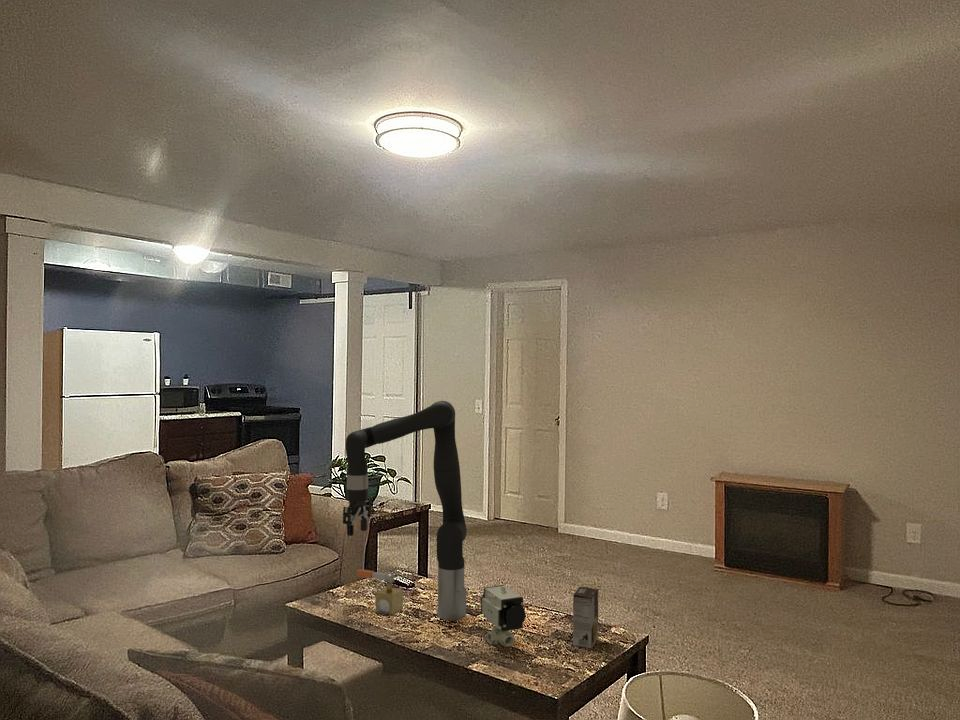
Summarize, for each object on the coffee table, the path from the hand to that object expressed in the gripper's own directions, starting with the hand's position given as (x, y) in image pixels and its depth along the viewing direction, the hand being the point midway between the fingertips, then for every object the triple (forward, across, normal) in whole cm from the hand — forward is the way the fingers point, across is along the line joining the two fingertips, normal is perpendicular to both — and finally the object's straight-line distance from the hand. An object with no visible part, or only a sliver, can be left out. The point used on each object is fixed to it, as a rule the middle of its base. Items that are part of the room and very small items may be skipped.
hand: (357, 533), depth 252 cm
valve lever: (+17, +6, -4) cm, 19 cm away
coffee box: (+29, +9, -81) cm, 86 cm away
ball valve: (+29, -4, -57) cm, 64 cm away
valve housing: (+28, +6, -10) cm, 30 cm away
